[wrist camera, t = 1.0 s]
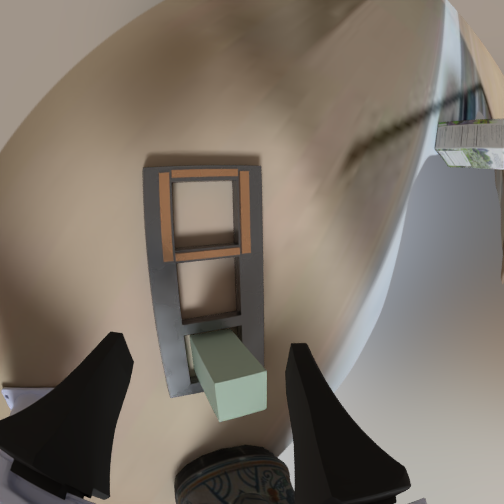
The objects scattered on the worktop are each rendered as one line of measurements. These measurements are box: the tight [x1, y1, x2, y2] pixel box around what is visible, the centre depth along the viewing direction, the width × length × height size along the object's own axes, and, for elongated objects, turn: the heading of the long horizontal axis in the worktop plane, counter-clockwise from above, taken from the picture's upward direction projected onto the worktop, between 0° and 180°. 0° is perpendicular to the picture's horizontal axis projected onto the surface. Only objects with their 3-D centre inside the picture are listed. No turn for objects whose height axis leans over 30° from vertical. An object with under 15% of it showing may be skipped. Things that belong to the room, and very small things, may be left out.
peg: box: [190, 329, 267, 422], centre depth 23 cm, size 4×4×8 cm
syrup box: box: [435, 119, 504, 170], centre depth 31 cm, size 6×6×14 cm
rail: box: [143, 165, 264, 398], centre depth 25 cm, size 21×10×1 cm, turn 1°
